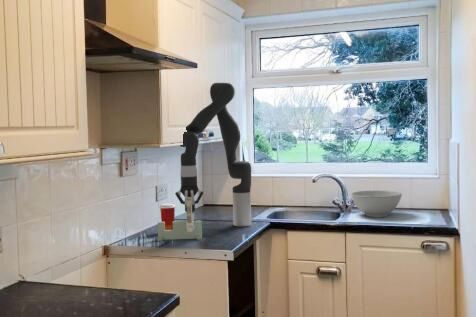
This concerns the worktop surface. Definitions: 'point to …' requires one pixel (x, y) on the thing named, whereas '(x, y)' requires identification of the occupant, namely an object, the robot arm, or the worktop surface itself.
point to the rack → (179, 231)
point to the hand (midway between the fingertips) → (190, 212)
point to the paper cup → (168, 215)
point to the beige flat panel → (189, 214)
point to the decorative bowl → (376, 202)
